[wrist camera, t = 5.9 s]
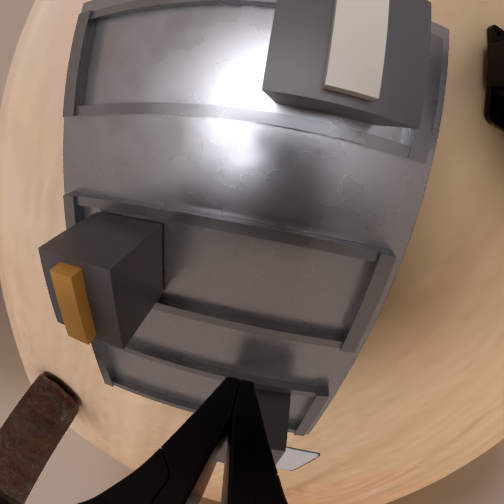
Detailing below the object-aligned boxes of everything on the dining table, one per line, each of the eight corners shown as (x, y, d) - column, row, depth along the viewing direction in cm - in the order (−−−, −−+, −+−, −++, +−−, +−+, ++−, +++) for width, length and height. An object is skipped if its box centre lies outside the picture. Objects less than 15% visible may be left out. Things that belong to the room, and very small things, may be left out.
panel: (431, 38, 9) (457, 25, 6) (309, 415, 21) (308, 442, 19) (103, 10, 10) (74, 0, 7) (114, 366, 23) (101, 387, 20)
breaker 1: (291, 392, 17) (284, 461, 12) (278, 420, 19) (270, 479, 14) (230, 380, 17) (211, 448, 13) (226, 410, 19) (209, 468, 14)
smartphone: (191, 418, 24) (322, 454, 25) (192, 414, 25) (322, 450, 25) (178, 439, 27) (292, 471, 28) (180, 435, 28) (292, 467, 28)
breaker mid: (162, 224, 13) (99, 280, 8) (162, 293, 15) (116, 360, 10) (96, 211, 13) (27, 255, 9) (103, 276, 15) (49, 330, 10)
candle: (46, 363, 27) (-29, 471, 9) (89, 401, 28) (25, 515, 10) (39, 377, 30) (-24, 468, 12) (75, 409, 31) (21, 504, 13)
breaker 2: (387, 38, 8) (440, -6, 3) (374, 125, 10) (431, 130, 5) (289, 16, 8) (281, -50, 4) (275, 102, 10) (257, 85, 5)
